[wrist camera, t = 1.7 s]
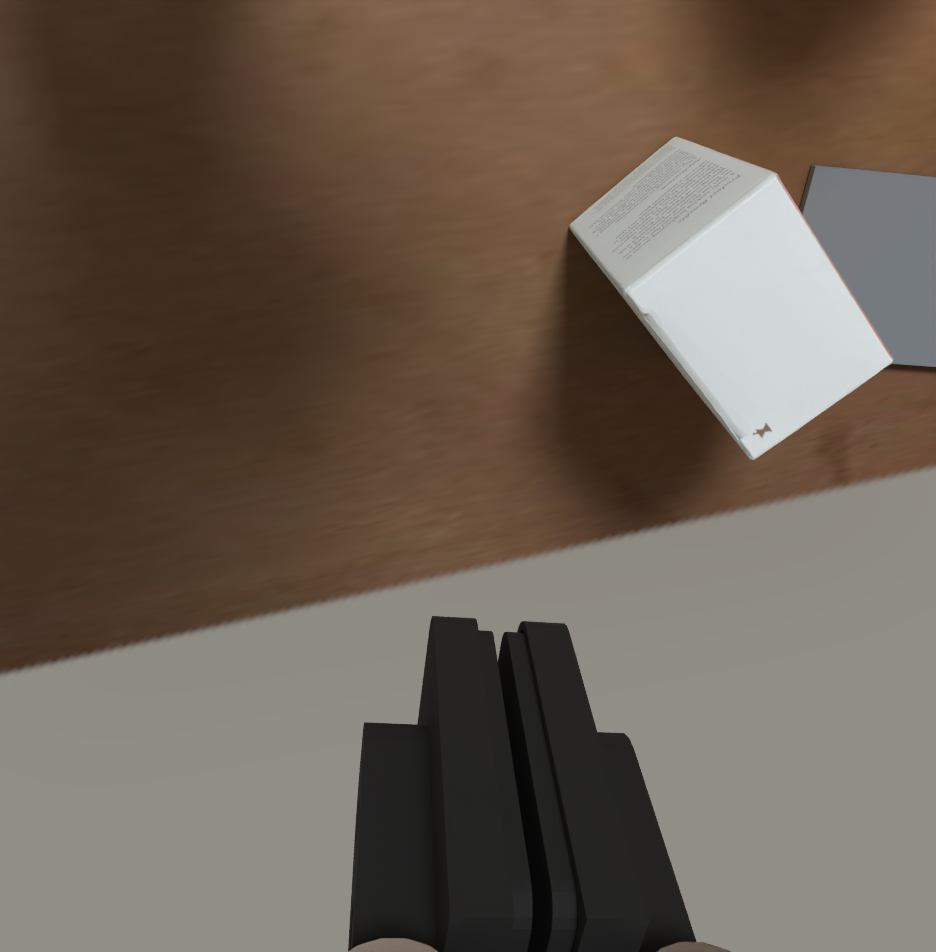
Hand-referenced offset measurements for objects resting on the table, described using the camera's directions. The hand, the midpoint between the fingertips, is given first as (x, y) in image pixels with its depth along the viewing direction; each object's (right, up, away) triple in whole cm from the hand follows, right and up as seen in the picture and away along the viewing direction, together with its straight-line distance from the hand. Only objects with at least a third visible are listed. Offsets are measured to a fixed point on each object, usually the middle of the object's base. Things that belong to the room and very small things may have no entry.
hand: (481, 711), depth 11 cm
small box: (+9, +13, +25) cm, 29 cm away
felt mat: (+19, +12, +26) cm, 35 cm away
